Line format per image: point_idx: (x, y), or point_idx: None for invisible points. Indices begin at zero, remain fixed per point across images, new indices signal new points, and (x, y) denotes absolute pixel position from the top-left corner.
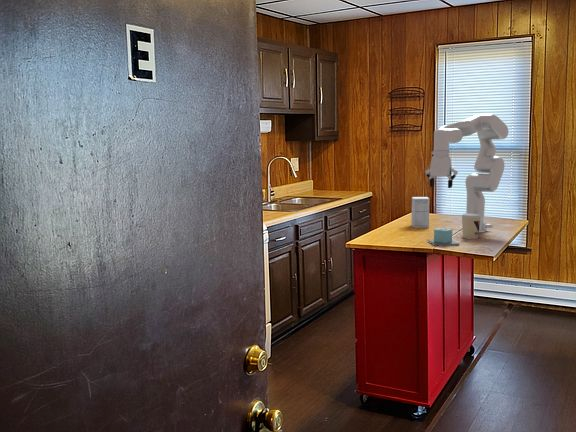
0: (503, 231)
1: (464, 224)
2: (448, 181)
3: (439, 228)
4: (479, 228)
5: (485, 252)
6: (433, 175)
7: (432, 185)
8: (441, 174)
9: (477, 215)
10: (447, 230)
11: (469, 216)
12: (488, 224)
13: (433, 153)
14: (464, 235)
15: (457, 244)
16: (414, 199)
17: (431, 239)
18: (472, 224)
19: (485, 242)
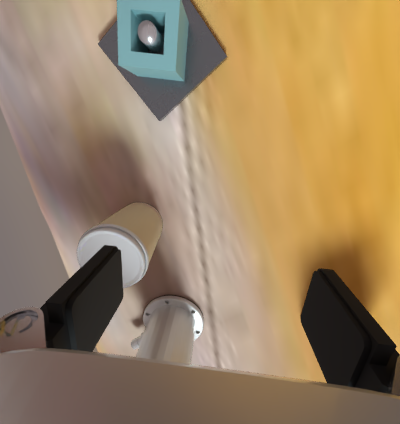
0: (116, 339)
1: (137, 219)
2: (71, 291)
3: (171, 48)
4: (153, 313)
5: None
6: (383, 394)
7: (315, 296)
8: (121, 401)
9: (78, 245)
10: (117, 4)
11: (103, 228)
12: (139, 344)
13: None
14: (149, 207)
15: (104, 40)
16: None
17: (213, 68)
18: (107, 218)
19: (71, 162)
